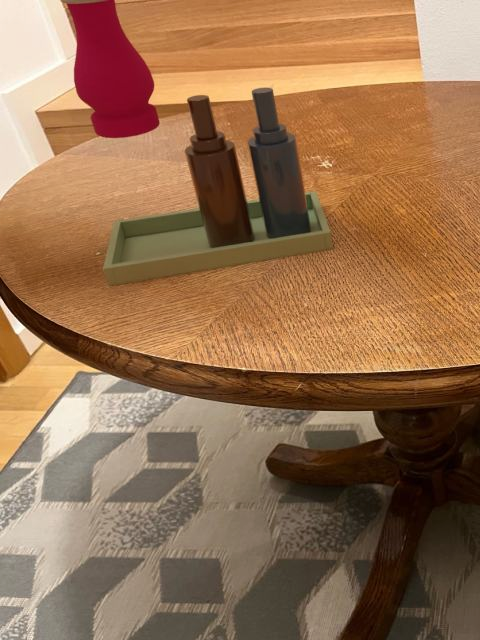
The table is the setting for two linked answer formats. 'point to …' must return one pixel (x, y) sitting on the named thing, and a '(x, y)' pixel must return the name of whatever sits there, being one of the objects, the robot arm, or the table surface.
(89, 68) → the pepper mill
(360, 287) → the table surface
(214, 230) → the brown bottle
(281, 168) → the blue bottle
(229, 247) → the tray
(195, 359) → the table surface
